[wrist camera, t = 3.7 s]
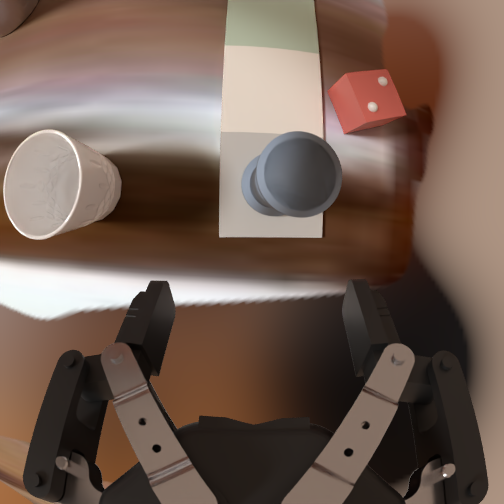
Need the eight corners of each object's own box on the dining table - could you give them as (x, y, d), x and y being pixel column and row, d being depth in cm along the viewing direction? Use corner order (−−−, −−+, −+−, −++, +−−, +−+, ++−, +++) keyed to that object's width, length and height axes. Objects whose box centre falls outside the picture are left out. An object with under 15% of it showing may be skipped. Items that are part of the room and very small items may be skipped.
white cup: (138, 208, 26) (96, 211, 17) (75, 239, 26) (19, 255, 16) (114, 137, 25) (68, 109, 15) (54, 171, 25) (-5, 163, 15)
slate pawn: (240, 215, 27) (251, 221, 17) (241, 152, 26) (253, 123, 16) (303, 216, 28) (345, 223, 18) (304, 155, 27) (345, 132, 17)
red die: (344, 133, 27) (368, 121, 22) (327, 91, 26) (347, 71, 21) (381, 125, 27) (409, 113, 22) (365, 85, 26) (389, 67, 21)
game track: (219, 236, 28) (219, 237, 27) (229, -13, 23) (229, -15, 22) (320, 237, 29) (322, 237, 28) (311, -5, 24) (312, -6, 23)
